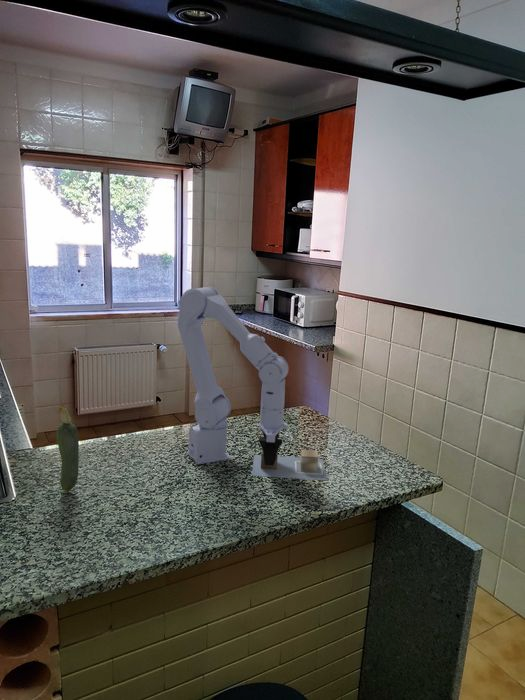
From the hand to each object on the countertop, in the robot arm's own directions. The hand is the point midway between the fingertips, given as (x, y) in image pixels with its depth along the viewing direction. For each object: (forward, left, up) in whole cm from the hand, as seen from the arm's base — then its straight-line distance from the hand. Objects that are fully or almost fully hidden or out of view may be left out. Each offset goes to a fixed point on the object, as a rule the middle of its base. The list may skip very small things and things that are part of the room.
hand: (269, 458), depth 127 cm
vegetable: (-47, +6, -3) cm, 47 cm away
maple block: (+9, -5, -2) cm, 10 cm away
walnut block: (0, 0, -2) cm, 2 cm away
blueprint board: (+4, -2, -3) cm, 6 cm away
